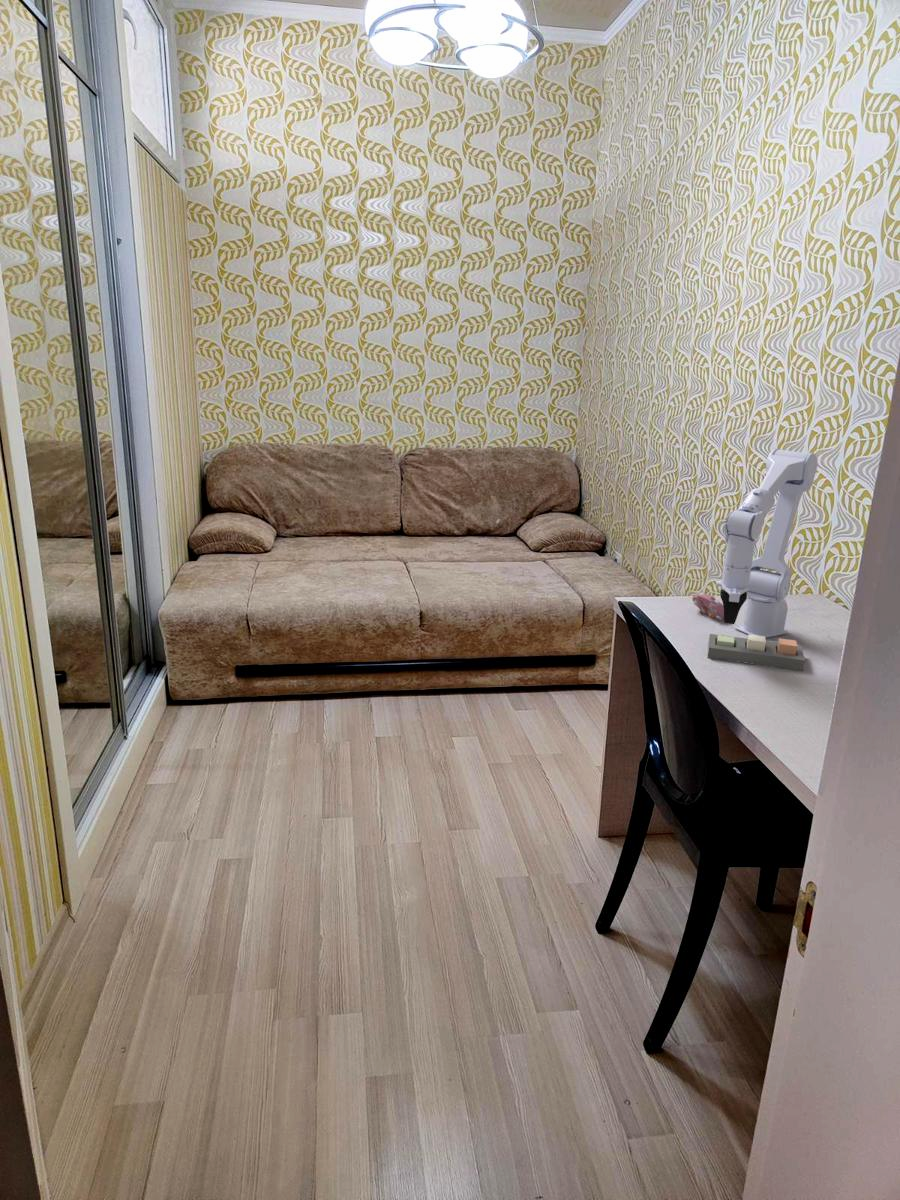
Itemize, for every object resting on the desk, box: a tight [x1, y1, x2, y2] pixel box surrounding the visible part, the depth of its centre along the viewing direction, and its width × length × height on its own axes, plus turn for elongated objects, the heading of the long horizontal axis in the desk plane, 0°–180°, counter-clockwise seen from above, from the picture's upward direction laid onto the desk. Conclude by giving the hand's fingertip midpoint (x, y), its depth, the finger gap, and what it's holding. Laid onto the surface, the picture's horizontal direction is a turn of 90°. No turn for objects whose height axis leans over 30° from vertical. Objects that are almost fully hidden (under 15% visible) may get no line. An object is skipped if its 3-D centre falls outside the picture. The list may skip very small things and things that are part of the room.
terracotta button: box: [777, 638, 798, 655], centre depth 178 cm, size 4×4×3 cm
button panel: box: [707, 633, 806, 672], centre depth 180 cm, size 20×9×2 cm, turn 72°
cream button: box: [746, 634, 767, 651], centre depth 180 cm, size 4×4×3 cm
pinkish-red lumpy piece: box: [692, 592, 724, 620], centre depth 205 cm, size 10×5×7 cm, turn 24°
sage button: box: [716, 634, 735, 647], centre depth 182 cm, size 4×4×3 cm
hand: (729, 622), depth 180 cm, fingers closed
